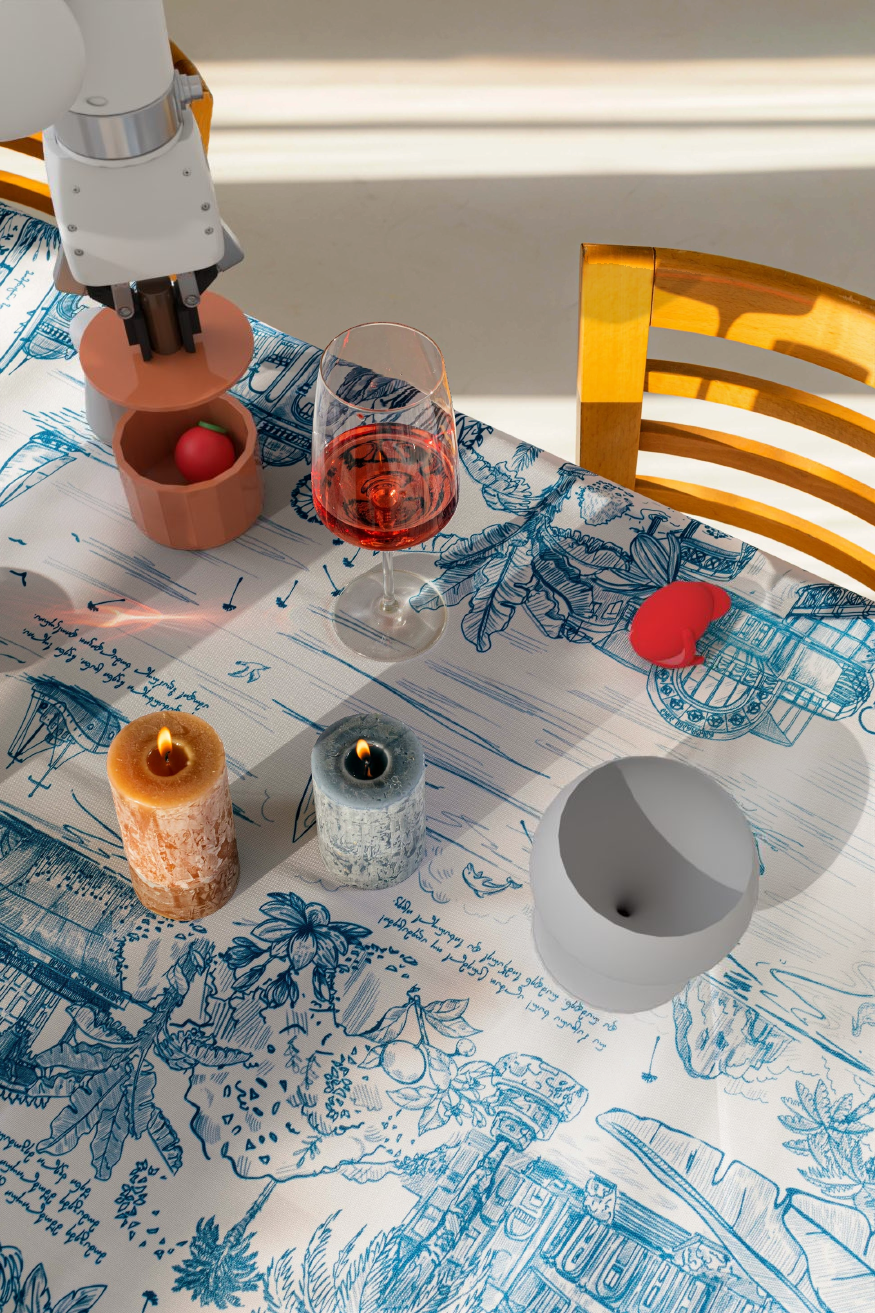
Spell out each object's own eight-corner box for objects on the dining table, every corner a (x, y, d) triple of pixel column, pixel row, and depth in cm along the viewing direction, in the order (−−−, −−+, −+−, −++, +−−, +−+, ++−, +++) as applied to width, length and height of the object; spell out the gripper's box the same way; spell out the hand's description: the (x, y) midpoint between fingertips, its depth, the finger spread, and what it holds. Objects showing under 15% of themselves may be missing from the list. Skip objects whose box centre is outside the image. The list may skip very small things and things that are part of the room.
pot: (117, 545, 99) (98, 486, 93) (143, 443, 105) (127, 381, 99) (254, 554, 99) (245, 496, 93) (272, 451, 105) (264, 389, 99)
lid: (64, 412, 83) (40, 340, 78) (102, 291, 90) (82, 217, 84) (241, 423, 83) (230, 353, 78) (266, 302, 90) (257, 228, 84)
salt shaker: (136, 399, 108) (107, 284, 97) (171, 436, 106) (145, 323, 95) (80, 429, 106) (43, 315, 95) (114, 467, 104) (80, 355, 93)
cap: (662, 696, 93) (677, 655, 88) (609, 645, 95) (621, 602, 90) (733, 643, 96) (751, 600, 91) (679, 595, 98) (695, 550, 93)
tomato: (163, 476, 98) (181, 415, 98) (171, 474, 103) (188, 416, 103) (222, 495, 99) (240, 434, 98) (227, 492, 104) (244, 434, 103)
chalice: (751, 906, 84) (814, 816, 71) (655, 1075, 78) (706, 1009, 65) (580, 802, 88) (611, 699, 75) (475, 955, 81) (490, 870, 69)
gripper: (237, 52, 73) (266, 289, 89) (-32, 89, 71) (46, 328, 86) (263, 124, 70) (288, 359, 85) (-20, 166, 67) (59, 401, 82)
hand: (166, 341), depth 86 cm, fingers closed on lid, 2 cm apart
